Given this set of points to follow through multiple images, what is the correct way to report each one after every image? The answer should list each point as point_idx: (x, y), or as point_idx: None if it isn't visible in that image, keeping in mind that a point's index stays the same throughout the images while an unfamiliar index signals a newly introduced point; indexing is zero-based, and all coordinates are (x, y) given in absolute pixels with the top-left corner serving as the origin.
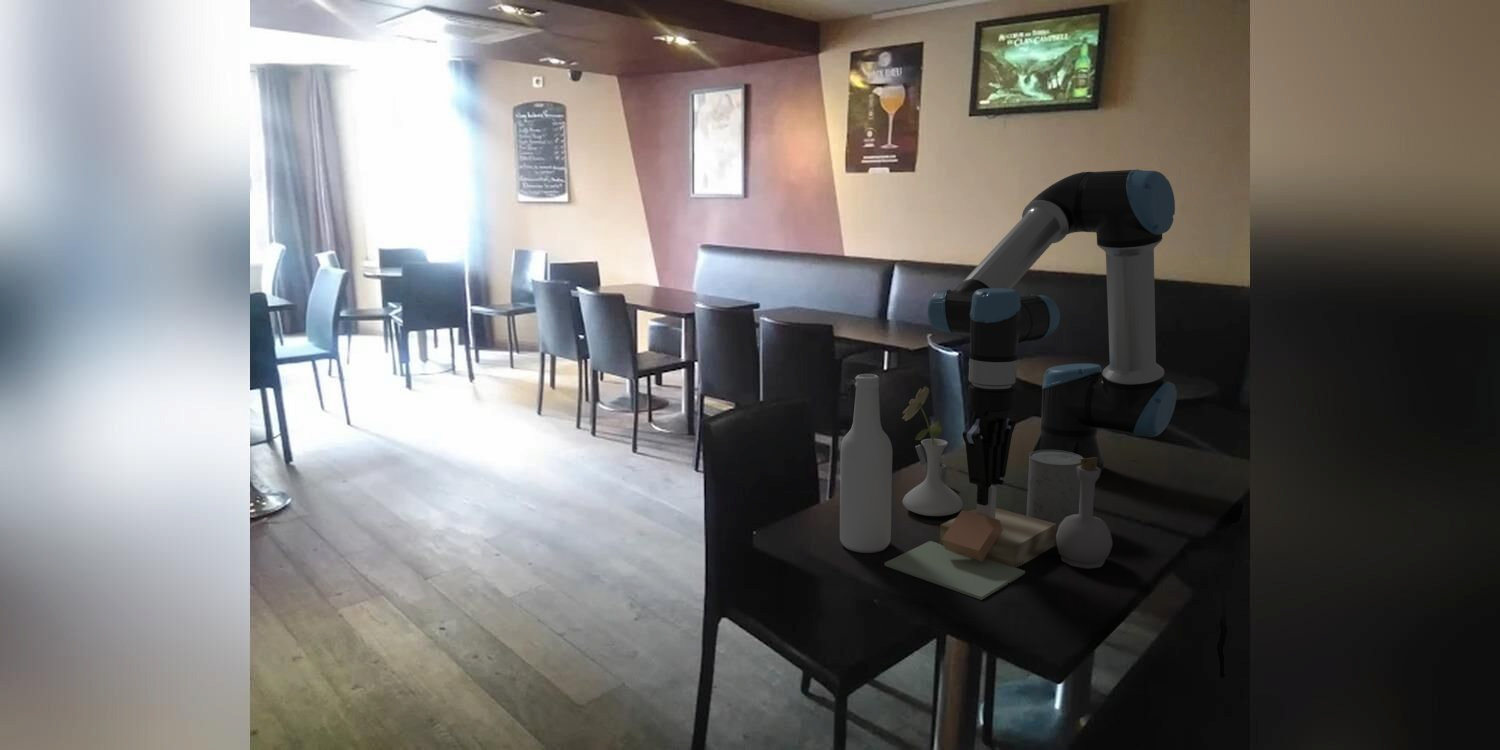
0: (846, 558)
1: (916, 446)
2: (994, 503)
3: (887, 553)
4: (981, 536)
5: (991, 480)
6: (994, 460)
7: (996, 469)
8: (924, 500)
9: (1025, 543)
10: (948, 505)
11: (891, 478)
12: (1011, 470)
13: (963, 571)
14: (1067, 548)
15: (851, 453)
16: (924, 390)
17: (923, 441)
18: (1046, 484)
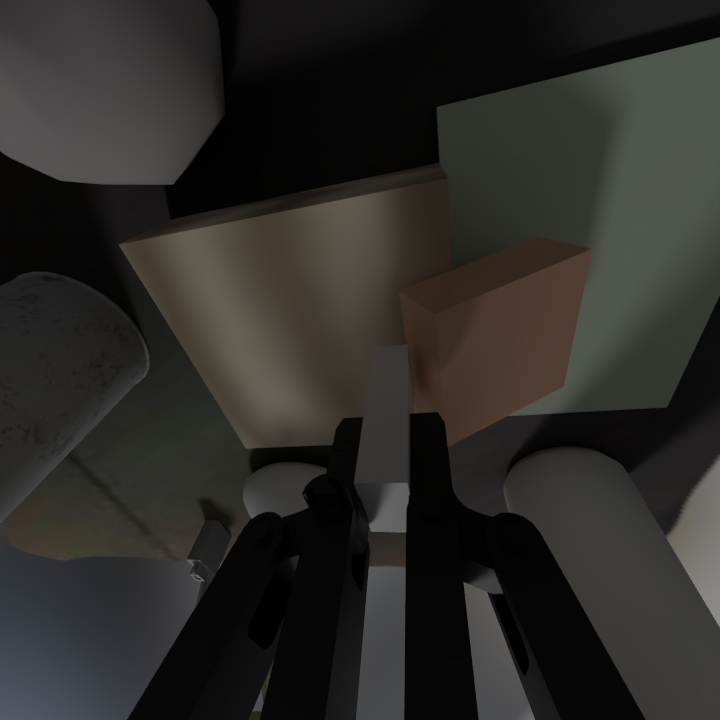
0: (664, 461)
1: None
2: (379, 403)
3: (576, 432)
4: (530, 299)
5: (409, 528)
6: (335, 701)
7: (341, 600)
8: None
9: (351, 195)
10: (304, 484)
11: (617, 663)
12: (53, 499)
13: (598, 248)
14: (207, 31)
15: None
16: None
17: None
18: (13, 409)
